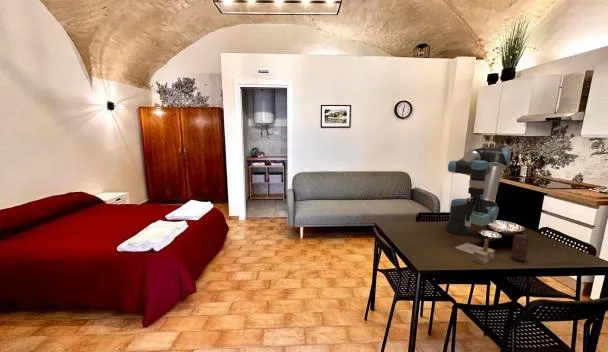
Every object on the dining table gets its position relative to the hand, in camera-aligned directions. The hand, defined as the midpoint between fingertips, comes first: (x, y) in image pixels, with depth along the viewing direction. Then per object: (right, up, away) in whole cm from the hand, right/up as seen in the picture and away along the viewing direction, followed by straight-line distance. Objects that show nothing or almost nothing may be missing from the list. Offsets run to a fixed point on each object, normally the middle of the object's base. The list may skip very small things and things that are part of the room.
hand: (471, 224), depth 153 cm
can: (+18, -17, -11) cm, 27 cm away
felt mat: (+1, -15, 0) cm, 15 cm away
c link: (+1, +2, -2) cm, 3 cm away
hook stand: (-2, -17, -12) cm, 21 cm away
